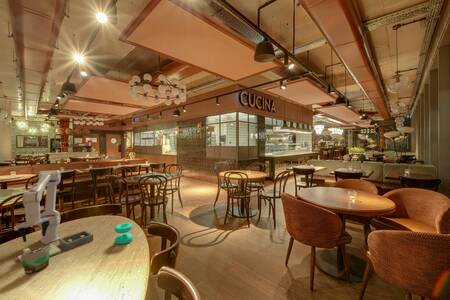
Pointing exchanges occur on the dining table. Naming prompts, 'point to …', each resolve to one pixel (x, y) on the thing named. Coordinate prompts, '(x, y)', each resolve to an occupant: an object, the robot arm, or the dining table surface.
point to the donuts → (123, 237)
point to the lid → (53, 251)
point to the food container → (36, 260)
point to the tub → (75, 240)
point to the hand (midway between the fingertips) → (34, 238)
